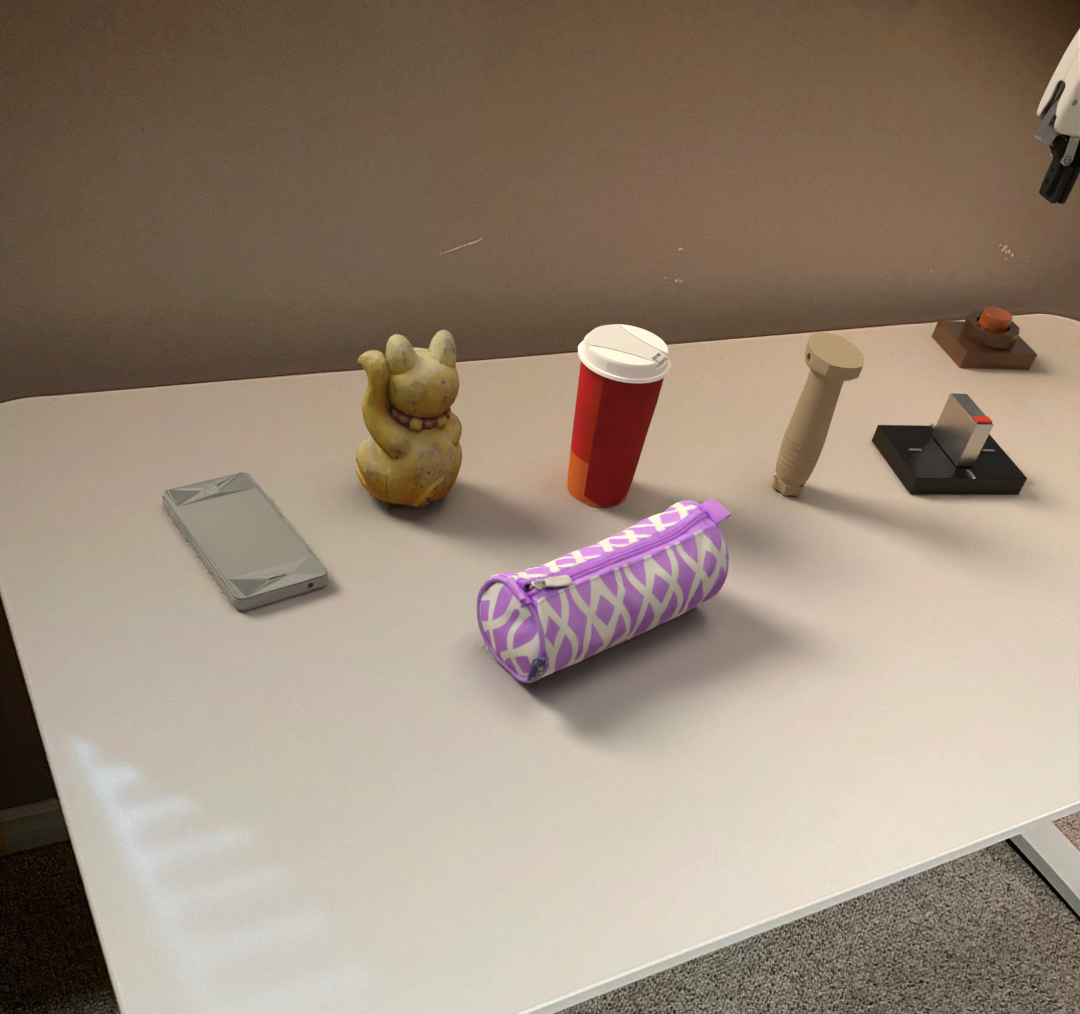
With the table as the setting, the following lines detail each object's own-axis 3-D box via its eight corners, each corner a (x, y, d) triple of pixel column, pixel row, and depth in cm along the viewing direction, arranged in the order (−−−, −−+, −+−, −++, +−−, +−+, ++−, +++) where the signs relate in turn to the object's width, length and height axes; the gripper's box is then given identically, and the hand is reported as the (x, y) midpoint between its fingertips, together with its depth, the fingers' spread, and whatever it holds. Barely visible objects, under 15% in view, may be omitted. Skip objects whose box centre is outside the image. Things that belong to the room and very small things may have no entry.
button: (997, 320, 137) (1004, 306, 135) (1011, 334, 134) (1018, 320, 133) (972, 319, 136) (978, 305, 134) (986, 333, 133) (992, 319, 132)
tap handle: (931, 435, 117) (951, 391, 113) (947, 435, 117) (968, 391, 113) (956, 466, 113) (977, 422, 109) (973, 466, 113) (994, 422, 109)
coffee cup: (653, 487, 106) (689, 344, 95) (614, 525, 101) (648, 378, 90) (579, 454, 108) (607, 310, 97) (538, 490, 103) (562, 342, 92)
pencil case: (528, 714, 82) (545, 620, 75) (455, 643, 86) (465, 548, 80) (724, 615, 94) (754, 526, 87) (650, 557, 98) (674, 468, 91)
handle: (774, 507, 106) (823, 366, 96) (755, 469, 111) (800, 331, 100) (819, 508, 107) (873, 369, 97) (798, 471, 112) (848, 334, 101)
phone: (249, 482, 97) (248, 470, 96) (332, 585, 89) (332, 573, 88) (160, 503, 93) (158, 491, 93) (238, 614, 85) (237, 601, 84)
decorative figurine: (434, 460, 104) (446, 310, 93) (479, 507, 100) (497, 356, 89) (343, 482, 99) (345, 328, 89) (386, 532, 95) (394, 376, 84)
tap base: (974, 441, 121) (983, 424, 120) (1019, 494, 115) (1028, 477, 113) (870, 440, 118) (878, 422, 117) (910, 495, 112) (918, 477, 110)
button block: (999, 339, 141) (1012, 309, 138) (1029, 370, 136) (1044, 340, 133) (931, 336, 139) (943, 306, 136) (959, 368, 134) (973, 337, 131)
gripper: (1175, 11, 115) (1089, 190, 128) (1054, -4, 112) (978, 181, 125) (1218, 32, 110) (1124, 216, 123) (1093, 17, 107) (1010, 208, 120)
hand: (1051, 198), depth 124 cm, fingers closed
